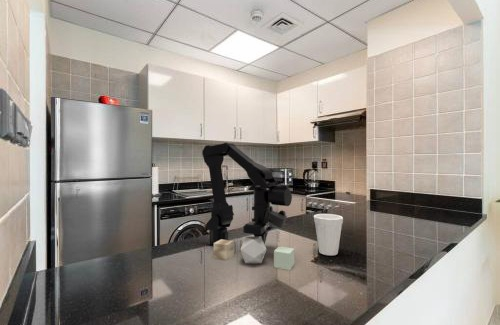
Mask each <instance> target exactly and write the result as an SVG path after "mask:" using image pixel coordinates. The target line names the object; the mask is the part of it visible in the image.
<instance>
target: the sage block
mask: <svg viewBox="0 0 500 325" xmlns="http://www.w3.org/2000/svg"><path fill="white" fill-rule="evenodd" d="M294 265H295V248H294V247H286V246H278V247H277V248H275V249H274V251H273V268H274V269H275V268H276V269H282V270H286V271H291V270H292V268H293V267H294Z"/></svg>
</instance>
